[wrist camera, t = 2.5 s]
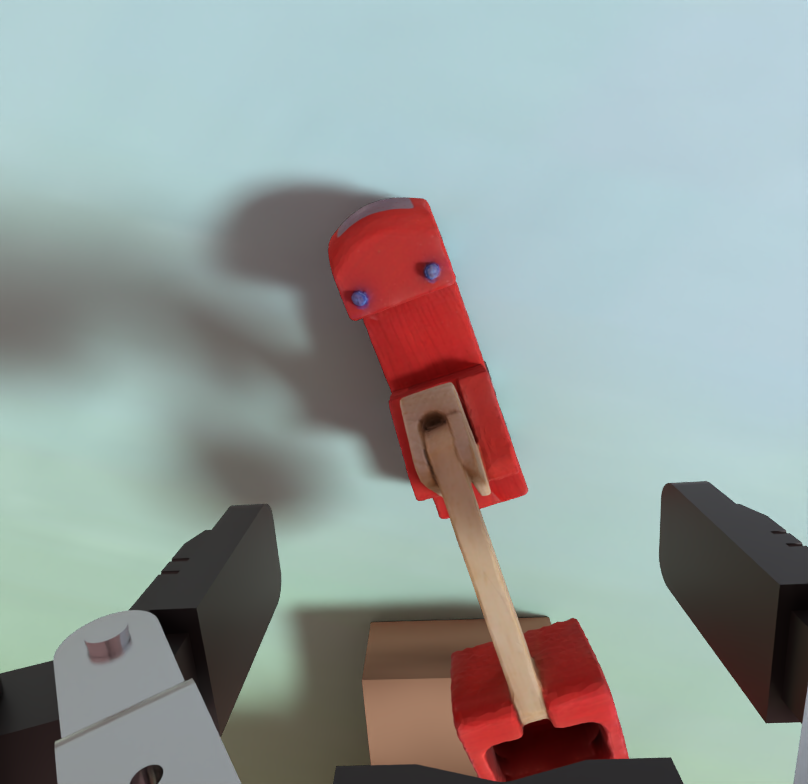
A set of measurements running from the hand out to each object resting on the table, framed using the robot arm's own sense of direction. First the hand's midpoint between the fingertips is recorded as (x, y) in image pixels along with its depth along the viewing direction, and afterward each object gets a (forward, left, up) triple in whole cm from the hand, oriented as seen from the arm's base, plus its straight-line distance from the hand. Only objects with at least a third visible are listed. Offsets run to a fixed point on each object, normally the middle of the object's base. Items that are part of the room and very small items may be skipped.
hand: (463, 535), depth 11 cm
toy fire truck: (0, 0, -9) cm, 9 cm away
